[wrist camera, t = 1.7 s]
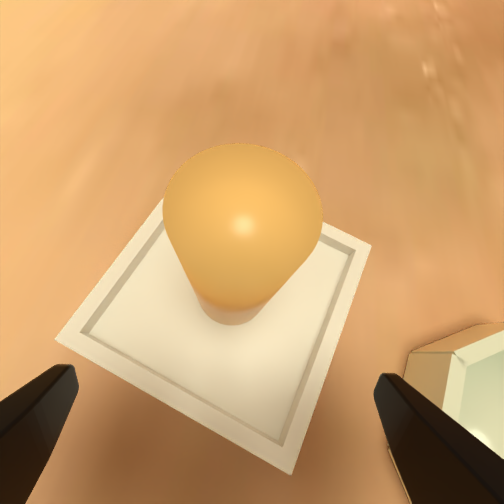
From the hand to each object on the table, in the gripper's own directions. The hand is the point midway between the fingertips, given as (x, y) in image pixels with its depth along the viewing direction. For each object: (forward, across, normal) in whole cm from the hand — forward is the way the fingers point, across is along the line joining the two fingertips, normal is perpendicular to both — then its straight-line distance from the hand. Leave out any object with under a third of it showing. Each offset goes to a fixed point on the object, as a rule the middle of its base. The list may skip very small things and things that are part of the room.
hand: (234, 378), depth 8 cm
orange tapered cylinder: (+11, 0, +4) cm, 12 cm away
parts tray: (+12, 0, +5) cm, 12 cm away
